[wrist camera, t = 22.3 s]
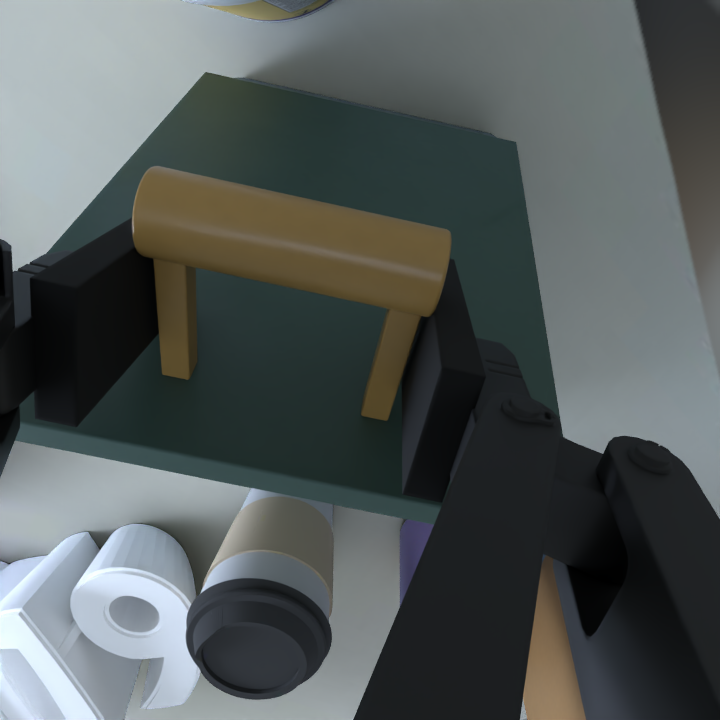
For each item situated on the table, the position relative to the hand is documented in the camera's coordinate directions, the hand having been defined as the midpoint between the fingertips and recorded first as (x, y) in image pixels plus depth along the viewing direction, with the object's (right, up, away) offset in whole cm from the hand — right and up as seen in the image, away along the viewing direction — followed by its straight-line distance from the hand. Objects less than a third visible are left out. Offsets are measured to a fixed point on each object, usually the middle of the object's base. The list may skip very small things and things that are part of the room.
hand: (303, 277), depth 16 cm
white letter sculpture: (-27, -23, +39) cm, 52 cm away
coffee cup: (-4, -13, +33) cm, 36 cm away
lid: (0, +2, +5) cm, 6 cm away
